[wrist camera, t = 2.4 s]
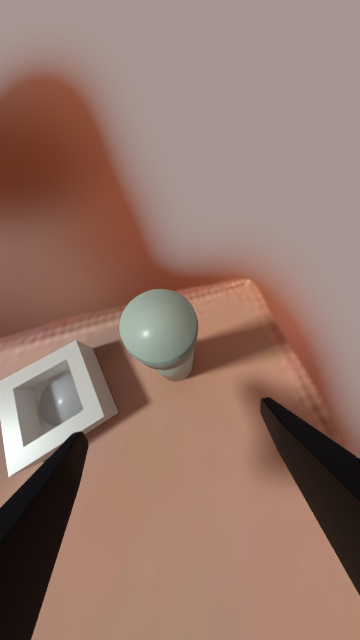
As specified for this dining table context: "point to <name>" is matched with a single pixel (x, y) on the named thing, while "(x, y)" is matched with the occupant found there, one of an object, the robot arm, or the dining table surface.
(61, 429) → the housing
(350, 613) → the dining table surface
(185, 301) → the toggle switch lever
